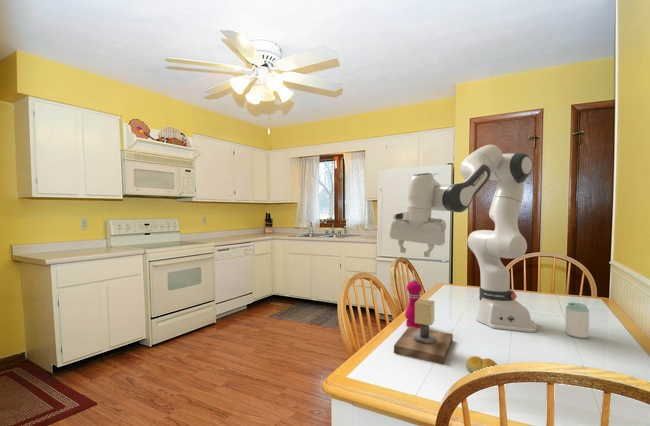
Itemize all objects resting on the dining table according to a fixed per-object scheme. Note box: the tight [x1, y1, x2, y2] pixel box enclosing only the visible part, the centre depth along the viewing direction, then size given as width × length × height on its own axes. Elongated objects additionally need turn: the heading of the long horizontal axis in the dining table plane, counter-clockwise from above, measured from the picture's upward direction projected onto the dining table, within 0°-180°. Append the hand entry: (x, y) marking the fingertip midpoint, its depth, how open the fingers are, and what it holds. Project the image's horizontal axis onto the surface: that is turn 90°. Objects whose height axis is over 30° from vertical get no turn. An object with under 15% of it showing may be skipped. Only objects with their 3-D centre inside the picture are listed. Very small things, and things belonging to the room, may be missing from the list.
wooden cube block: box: [415, 298, 435, 327], centre depth 114 cm, size 6×6×7 cm
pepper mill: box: [404, 277, 423, 328], centre depth 134 cm, size 7×7×20 cm
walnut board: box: [393, 324, 454, 365], centre depth 114 cm, size 16×20×10 cm
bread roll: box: [465, 356, 498, 374], centre depth 97 cm, size 8×9×4 cm
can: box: [564, 301, 590, 340], centre depth 124 cm, size 7×7×12 cm
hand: (414, 254), depth 118 cm, fingers open, 8 cm apart
